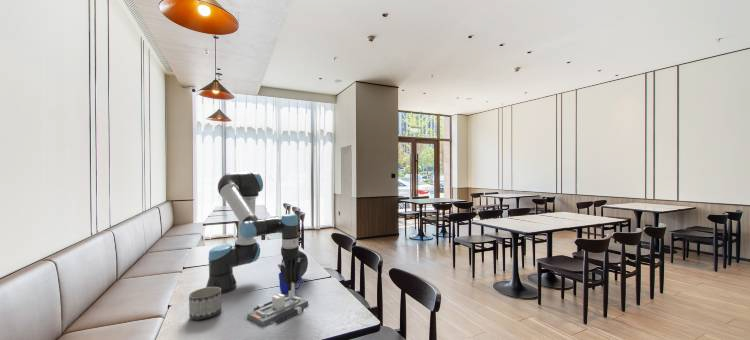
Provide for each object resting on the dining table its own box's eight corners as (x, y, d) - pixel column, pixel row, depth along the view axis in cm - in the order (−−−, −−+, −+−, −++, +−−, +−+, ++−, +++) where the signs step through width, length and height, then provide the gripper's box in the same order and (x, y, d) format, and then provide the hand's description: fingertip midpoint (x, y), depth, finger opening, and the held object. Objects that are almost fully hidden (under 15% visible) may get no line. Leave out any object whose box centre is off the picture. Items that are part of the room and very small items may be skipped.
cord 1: (252, 311, 138) (252, 307, 138) (278, 301, 149) (278, 296, 149) (255, 313, 136) (255, 308, 136) (281, 302, 147) (281, 297, 147)
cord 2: (274, 322, 128) (274, 317, 128) (300, 309, 139) (300, 305, 139) (278, 324, 126) (277, 319, 126) (304, 311, 137) (304, 306, 137)
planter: (199, 324, 128) (198, 300, 128) (183, 317, 134) (183, 294, 134) (227, 312, 138) (226, 289, 138) (211, 306, 145) (211, 284, 145)
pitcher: (310, 276, 182) (309, 227, 183) (290, 288, 165) (288, 233, 165) (296, 274, 187) (294, 226, 187) (274, 285, 169) (273, 232, 169)
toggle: (272, 307, 137) (272, 295, 137) (280, 304, 141) (279, 292, 141) (277, 309, 135) (277, 297, 135) (285, 306, 138) (285, 294, 138)
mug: (297, 295, 155) (297, 276, 155) (276, 294, 157) (275, 275, 157) (304, 289, 163) (304, 271, 163) (284, 288, 165) (283, 270, 165)
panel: (247, 318, 132) (247, 311, 132) (292, 298, 151) (292, 292, 151) (262, 326, 125) (262, 318, 125) (308, 304, 144) (308, 298, 144)
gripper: (283, 251, 136) (285, 303, 136) (306, 245, 147) (307, 293, 147) (273, 248, 141) (275, 299, 141) (296, 243, 151) (297, 290, 151)
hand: (291, 296), depth 144 cm, fingers closed
